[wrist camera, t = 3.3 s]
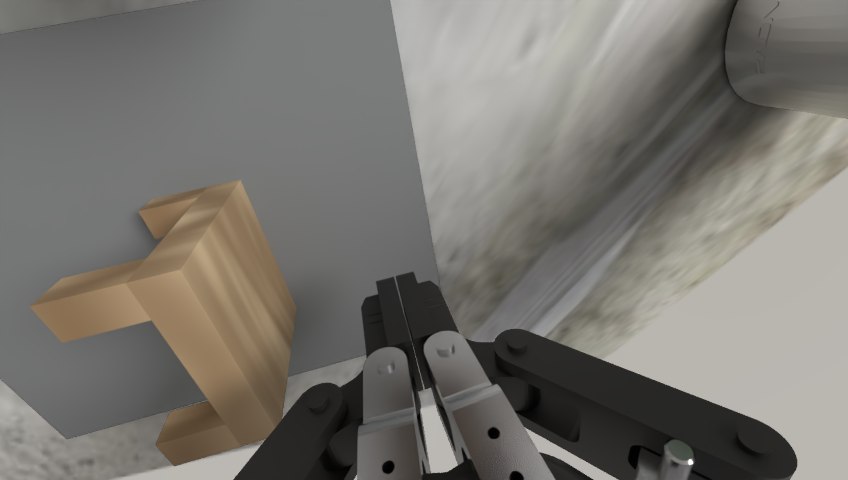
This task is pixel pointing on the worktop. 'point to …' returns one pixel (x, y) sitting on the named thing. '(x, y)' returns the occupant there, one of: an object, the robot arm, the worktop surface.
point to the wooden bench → (197, 315)
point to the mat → (200, 179)
